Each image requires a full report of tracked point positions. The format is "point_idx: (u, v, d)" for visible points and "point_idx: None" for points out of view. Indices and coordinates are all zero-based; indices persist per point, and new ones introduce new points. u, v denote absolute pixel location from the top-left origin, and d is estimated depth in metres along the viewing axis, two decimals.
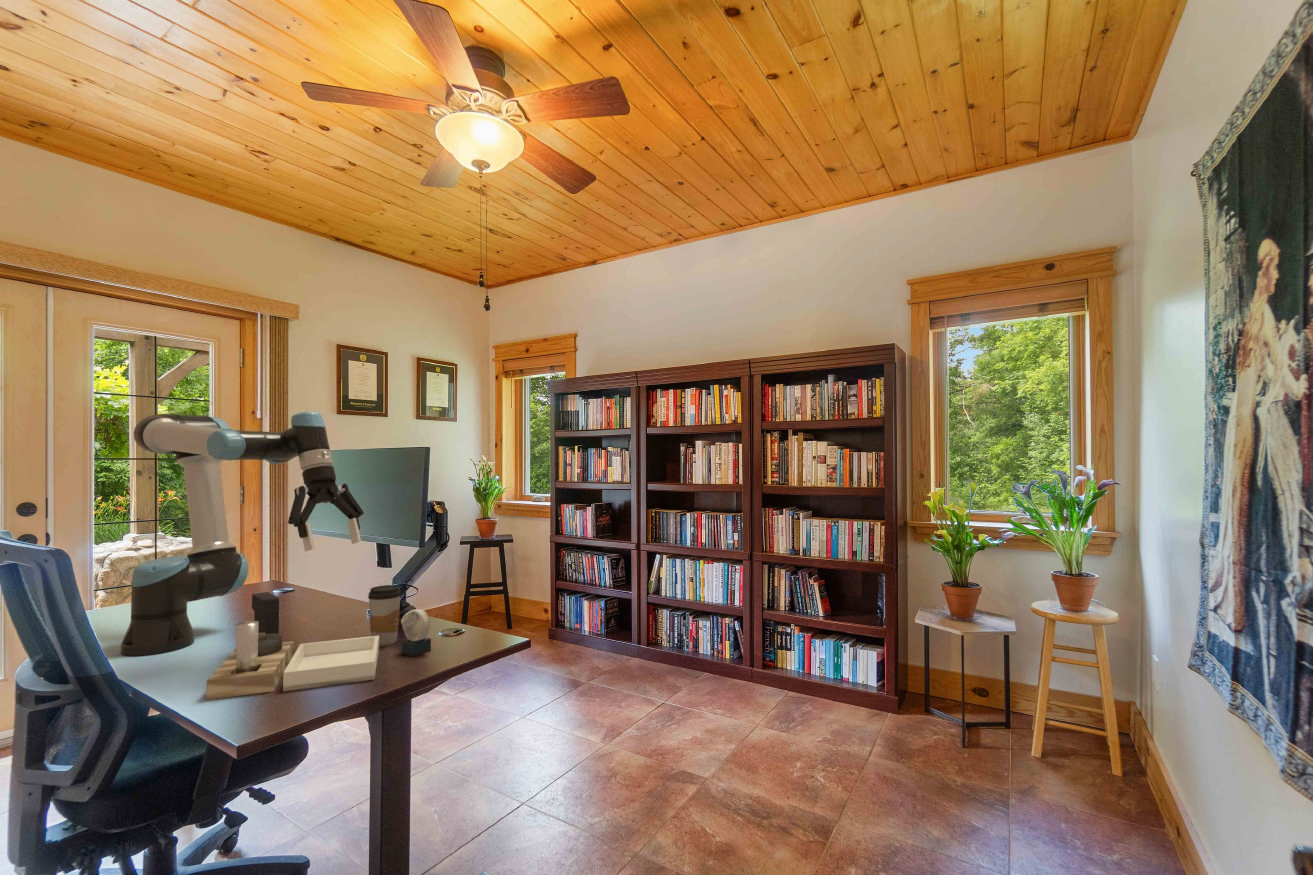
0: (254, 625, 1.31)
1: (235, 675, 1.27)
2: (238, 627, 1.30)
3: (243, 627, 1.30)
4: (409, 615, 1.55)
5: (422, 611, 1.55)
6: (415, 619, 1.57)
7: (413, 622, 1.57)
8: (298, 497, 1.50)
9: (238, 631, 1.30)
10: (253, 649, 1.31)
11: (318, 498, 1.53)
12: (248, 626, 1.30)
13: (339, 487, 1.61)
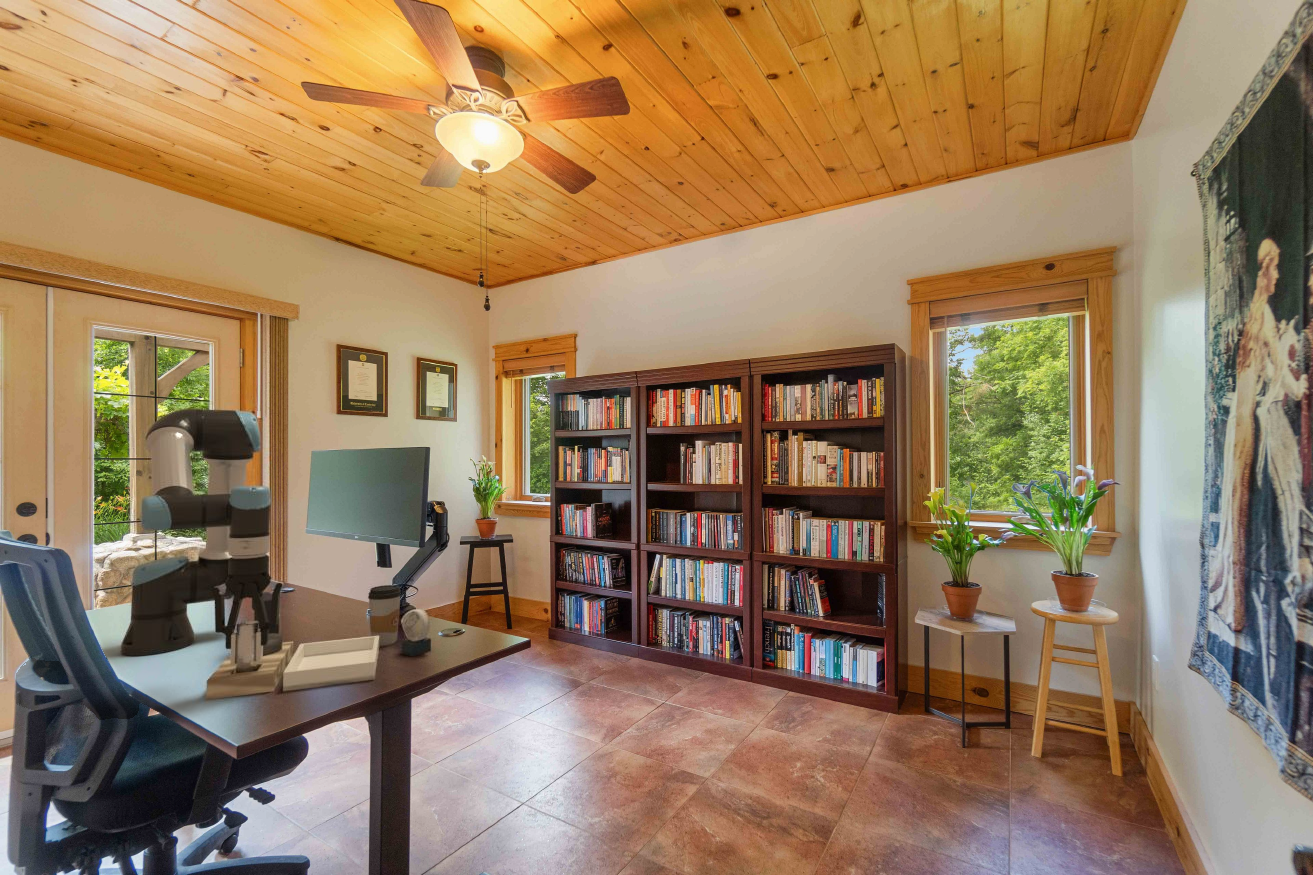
0: (254, 625, 1.31)
1: (235, 675, 1.27)
2: (238, 627, 1.30)
3: (243, 627, 1.30)
4: (409, 615, 1.55)
5: (422, 611, 1.55)
6: (415, 619, 1.57)
7: (413, 622, 1.57)
8: None
9: (238, 631, 1.30)
10: (253, 649, 1.31)
11: (237, 599, 1.30)
12: (248, 626, 1.30)
13: (273, 583, 1.34)
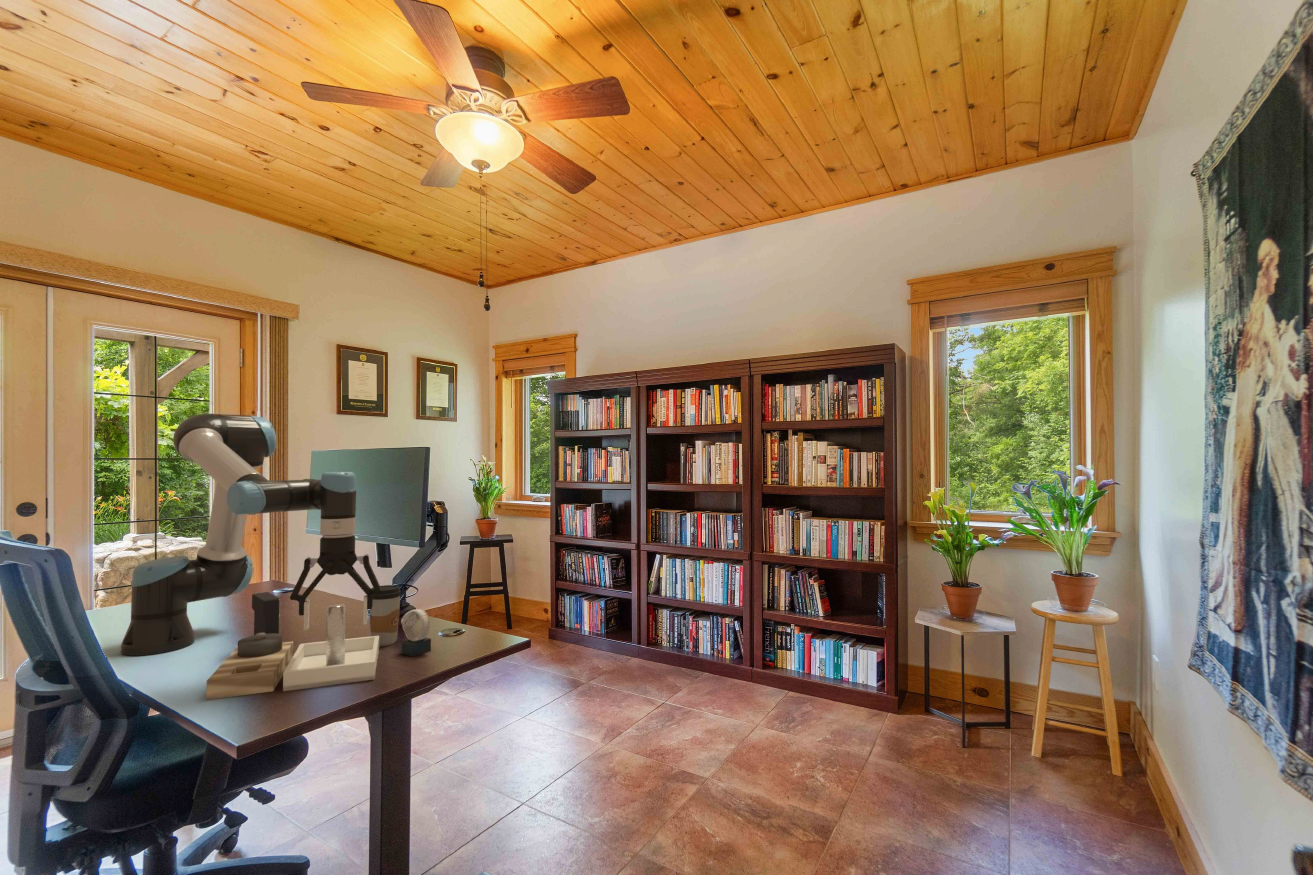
0: (342, 607, 1.43)
1: (235, 675, 1.27)
2: (328, 609, 1.41)
3: (333, 609, 1.41)
4: (409, 615, 1.55)
5: (422, 611, 1.55)
6: (415, 619, 1.57)
7: (413, 622, 1.57)
8: (302, 571, 1.40)
9: (328, 613, 1.41)
10: (341, 629, 1.42)
11: (323, 573, 1.41)
12: (337, 608, 1.42)
13: (360, 558, 1.45)
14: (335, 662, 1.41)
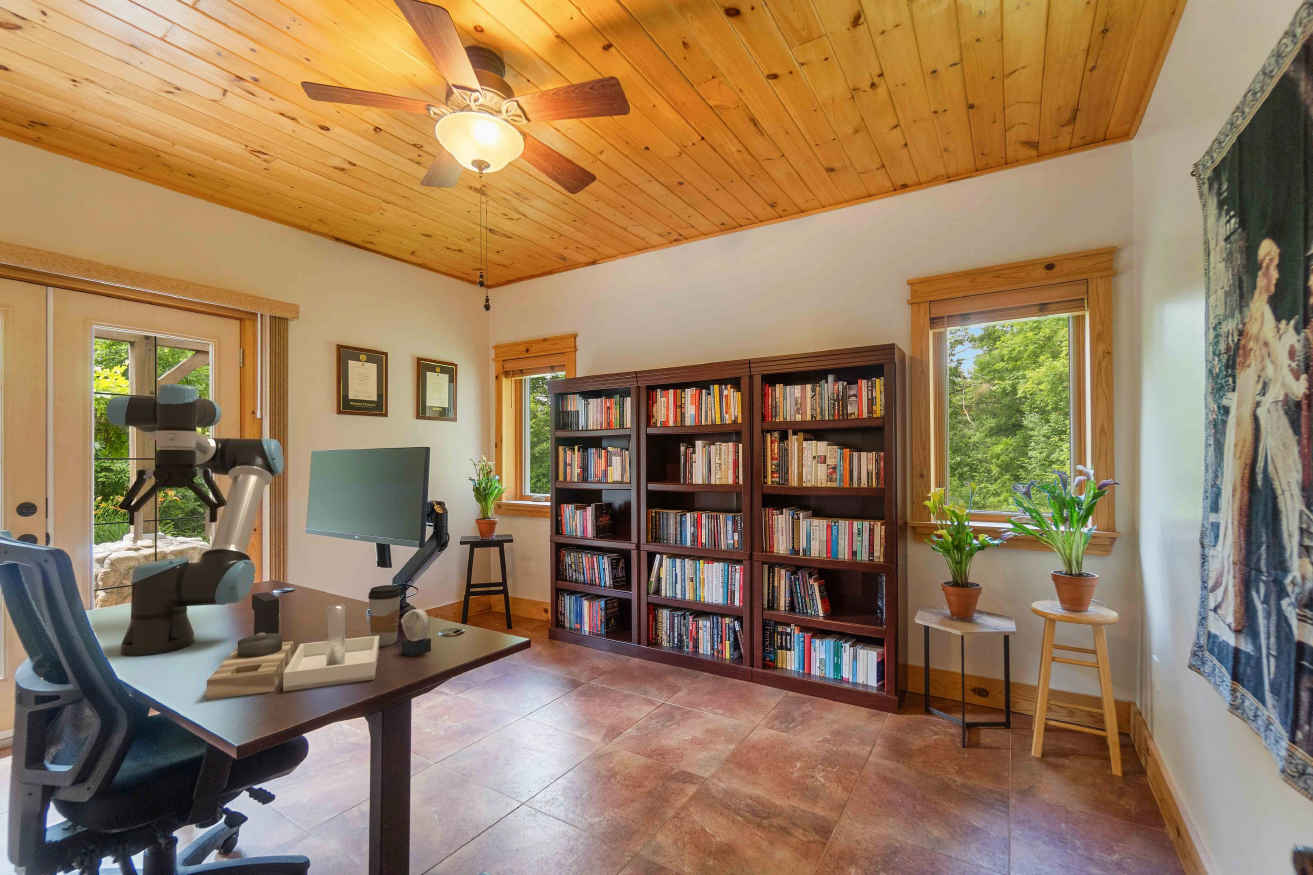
0: (343, 608, 1.42)
1: (235, 675, 1.27)
2: (329, 609, 1.41)
3: (333, 609, 1.41)
4: (409, 615, 1.55)
5: (422, 611, 1.55)
6: (415, 619, 1.57)
7: (413, 622, 1.57)
8: None
9: (329, 613, 1.41)
10: (342, 630, 1.42)
11: (157, 485, 1.40)
12: (338, 608, 1.41)
13: (200, 472, 1.44)
14: (335, 663, 1.41)
